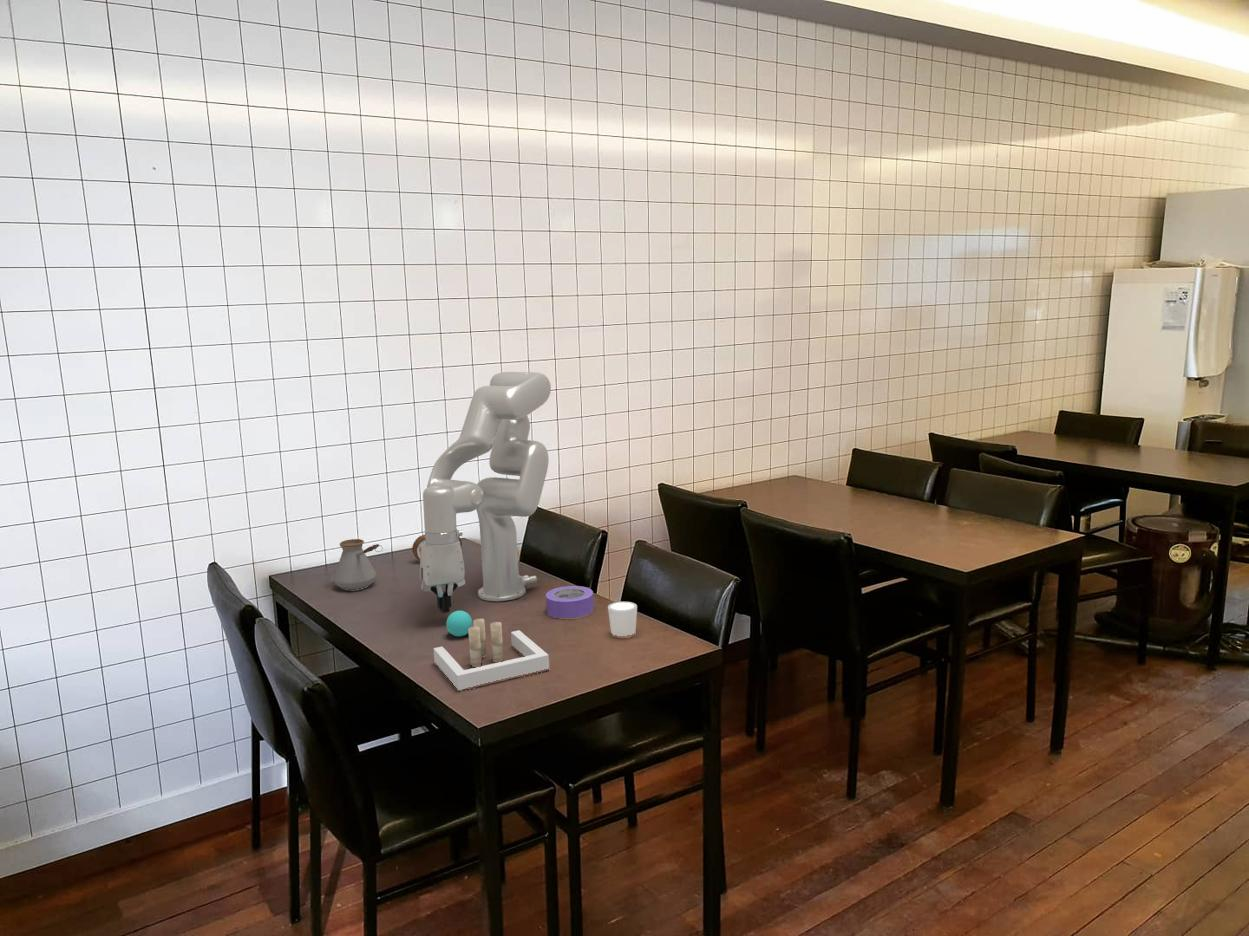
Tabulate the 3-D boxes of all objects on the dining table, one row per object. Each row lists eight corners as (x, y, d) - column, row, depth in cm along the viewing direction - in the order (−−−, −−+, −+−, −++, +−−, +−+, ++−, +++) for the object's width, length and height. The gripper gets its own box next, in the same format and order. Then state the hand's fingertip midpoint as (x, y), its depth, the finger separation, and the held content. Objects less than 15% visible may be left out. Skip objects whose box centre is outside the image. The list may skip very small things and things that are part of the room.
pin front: (484, 653, 208) (482, 617, 206) (488, 657, 206) (485, 621, 204) (474, 656, 207) (471, 619, 205) (477, 659, 205) (475, 623, 203)
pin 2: (501, 657, 205) (499, 621, 204) (505, 661, 203) (503, 624, 202) (491, 659, 204) (488, 623, 203) (494, 663, 202) (492, 626, 201)
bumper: (520, 644, 212) (519, 630, 212) (549, 670, 198) (548, 655, 197) (434, 663, 203) (433, 648, 203) (458, 691, 189) (457, 675, 188)
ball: (468, 629, 223) (466, 605, 222) (476, 637, 218) (474, 612, 217) (443, 634, 221) (442, 610, 219) (451, 642, 215) (449, 617, 214)
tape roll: (544, 621, 228) (543, 601, 227) (548, 604, 239) (548, 586, 238) (592, 619, 227) (592, 600, 226) (594, 603, 239) (594, 585, 238)
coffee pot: (327, 587, 259) (322, 535, 256) (365, 577, 266) (360, 526, 263) (363, 604, 243) (358, 549, 240) (402, 593, 251) (398, 540, 248)
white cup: (612, 641, 213) (611, 612, 211) (605, 631, 219) (604, 603, 218) (641, 637, 214) (640, 608, 213) (633, 627, 221) (632, 599, 220)
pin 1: (479, 662, 203) (477, 625, 202) (483, 666, 201) (481, 628, 199) (469, 664, 202) (466, 627, 200) (472, 668, 200) (470, 631, 198)
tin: (460, 554, 286) (458, 528, 285) (464, 557, 284) (462, 530, 282) (412, 563, 279) (410, 536, 277) (416, 565, 276) (414, 538, 275)
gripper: (466, 530, 230) (469, 602, 233) (406, 538, 223) (410, 611, 226) (476, 536, 223) (479, 610, 226) (414, 544, 216) (418, 620, 219)
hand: (444, 610), depth 226 cm, fingers closed
